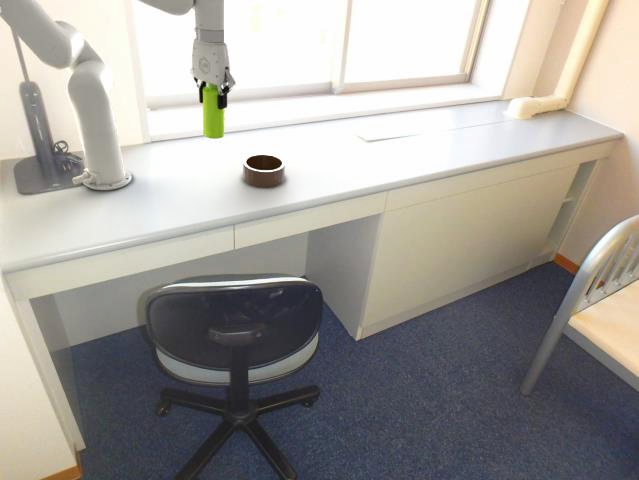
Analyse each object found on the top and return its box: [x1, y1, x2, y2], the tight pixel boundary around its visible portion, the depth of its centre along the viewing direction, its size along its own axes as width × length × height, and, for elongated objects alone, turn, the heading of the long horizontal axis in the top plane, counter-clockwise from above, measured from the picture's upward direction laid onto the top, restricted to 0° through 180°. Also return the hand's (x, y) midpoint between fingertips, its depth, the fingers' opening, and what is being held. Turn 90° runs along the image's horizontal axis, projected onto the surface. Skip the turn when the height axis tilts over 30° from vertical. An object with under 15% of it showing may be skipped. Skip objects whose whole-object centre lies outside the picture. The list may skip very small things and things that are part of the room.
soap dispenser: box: [202, 83, 226, 140], centre depth 123 cm, size 6×7×20 cm
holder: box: [242, 153, 286, 189], centre depth 137 cm, size 13×13×6 cm
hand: (213, 104), depth 123 cm, fingers closed on soap dispenser, 6 cm apart
